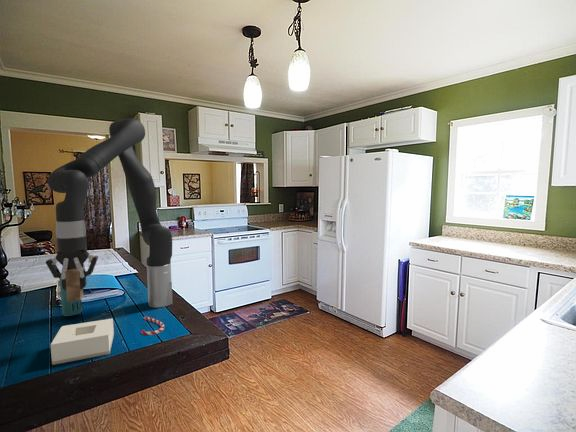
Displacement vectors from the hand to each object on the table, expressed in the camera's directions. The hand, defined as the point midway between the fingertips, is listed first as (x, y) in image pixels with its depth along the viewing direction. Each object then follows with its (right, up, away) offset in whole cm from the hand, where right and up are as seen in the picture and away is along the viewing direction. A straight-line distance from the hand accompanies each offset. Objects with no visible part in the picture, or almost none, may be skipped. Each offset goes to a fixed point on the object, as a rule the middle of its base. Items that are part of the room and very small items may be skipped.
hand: (74, 289), depth 97 cm
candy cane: (+18, -17, +13) cm, 28 cm away
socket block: (+5, -18, -2) cm, 19 cm away
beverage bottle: (-15, -15, +21) cm, 30 cm away
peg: (0, -3, 0) cm, 3 cm away
